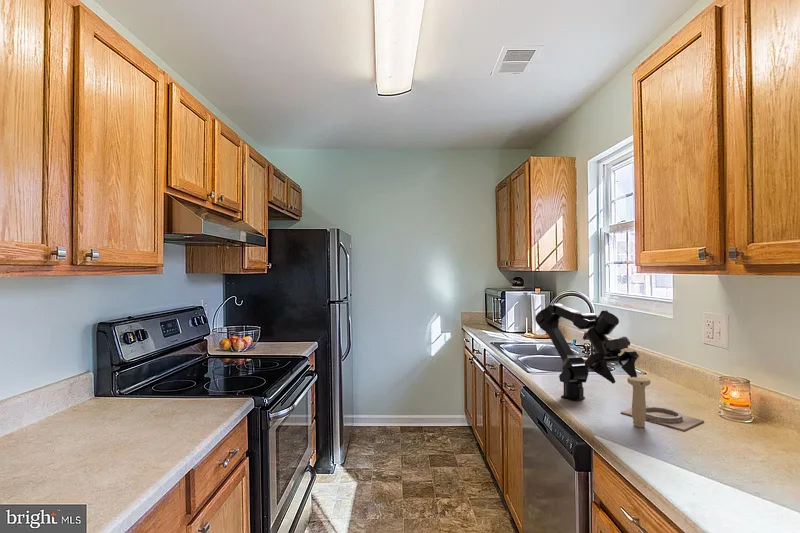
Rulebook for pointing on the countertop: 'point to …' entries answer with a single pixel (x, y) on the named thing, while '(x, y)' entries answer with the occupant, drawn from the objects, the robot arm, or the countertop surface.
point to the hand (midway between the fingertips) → (625, 381)
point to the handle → (638, 400)
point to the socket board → (668, 418)
